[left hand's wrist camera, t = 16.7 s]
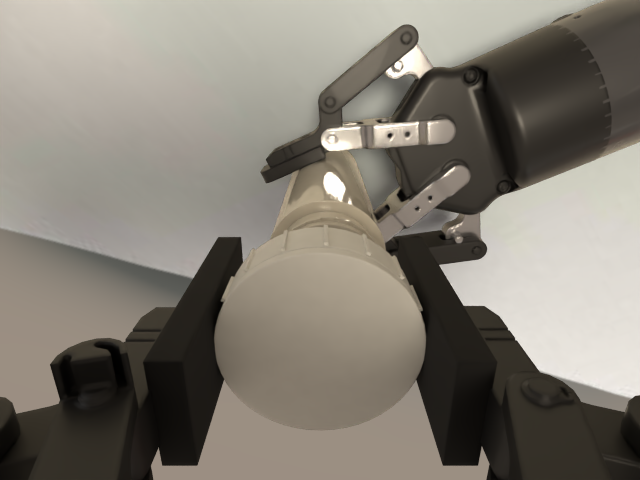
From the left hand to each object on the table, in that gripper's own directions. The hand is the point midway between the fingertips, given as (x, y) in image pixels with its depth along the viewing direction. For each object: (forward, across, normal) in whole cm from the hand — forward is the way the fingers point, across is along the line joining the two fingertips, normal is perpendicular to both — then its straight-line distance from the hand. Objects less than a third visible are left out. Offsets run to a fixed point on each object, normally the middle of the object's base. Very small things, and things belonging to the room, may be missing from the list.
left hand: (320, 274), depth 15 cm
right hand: (+11, -2, -2) cm, 11 cm away
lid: (-4, 0, 0) cm, 4 cm away
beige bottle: (+17, 0, 0) cm, 17 cm away
